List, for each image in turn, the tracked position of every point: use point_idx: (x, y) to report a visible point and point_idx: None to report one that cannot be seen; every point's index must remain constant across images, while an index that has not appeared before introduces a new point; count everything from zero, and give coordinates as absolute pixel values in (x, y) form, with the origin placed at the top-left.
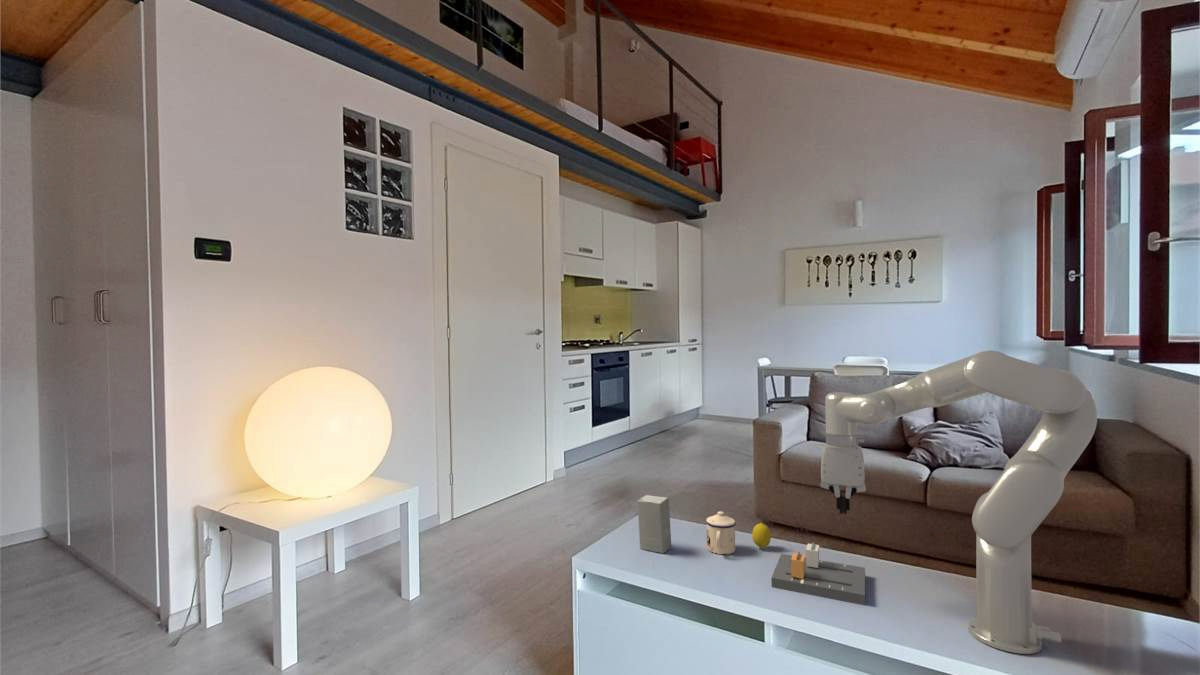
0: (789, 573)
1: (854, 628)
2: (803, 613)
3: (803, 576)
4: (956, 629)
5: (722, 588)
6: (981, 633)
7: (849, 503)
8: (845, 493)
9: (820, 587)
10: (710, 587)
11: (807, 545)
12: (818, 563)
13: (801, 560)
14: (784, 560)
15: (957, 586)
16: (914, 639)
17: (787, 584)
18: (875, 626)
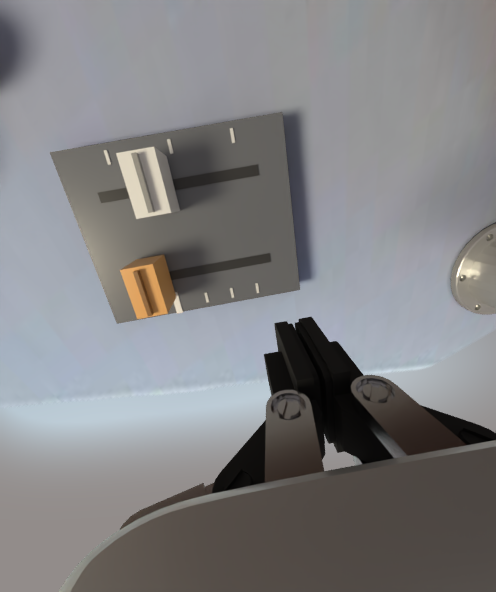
0: None
1: None
2: (213, 371)
3: (174, 296)
4: (431, 281)
5: (58, 373)
6: (468, 294)
7: (349, 361)
8: (359, 433)
9: (217, 304)
10: (39, 382)
11: (124, 177)
12: (173, 188)
13: (161, 309)
14: (86, 203)
15: (489, 32)
16: (368, 349)
17: None
18: None
